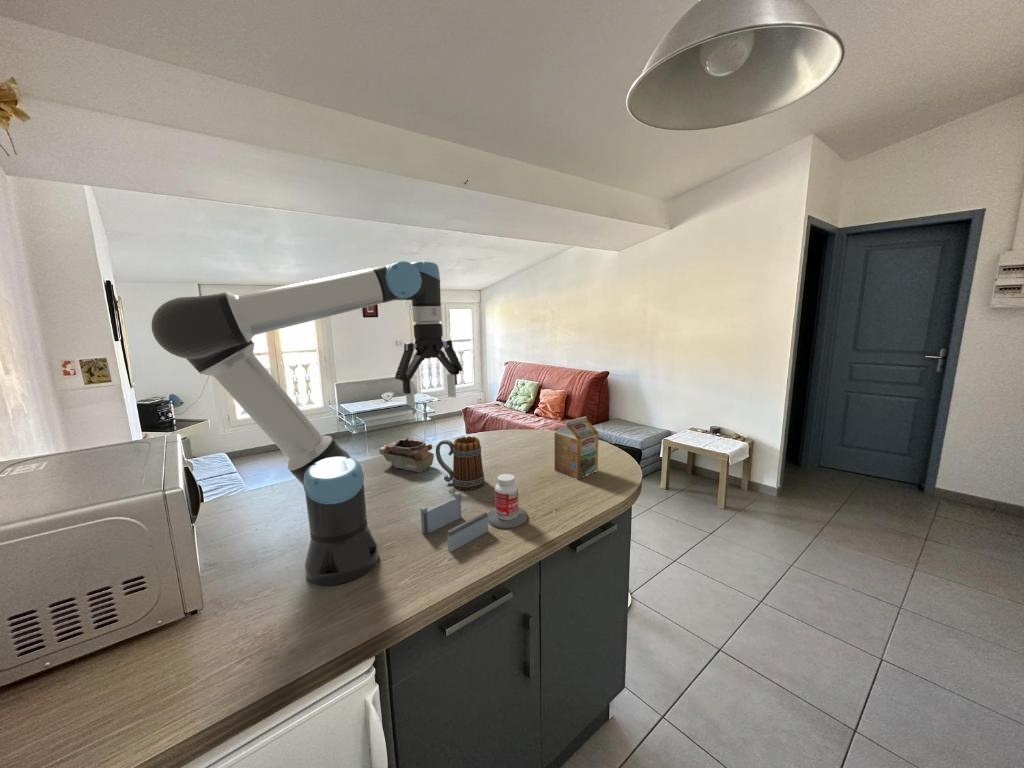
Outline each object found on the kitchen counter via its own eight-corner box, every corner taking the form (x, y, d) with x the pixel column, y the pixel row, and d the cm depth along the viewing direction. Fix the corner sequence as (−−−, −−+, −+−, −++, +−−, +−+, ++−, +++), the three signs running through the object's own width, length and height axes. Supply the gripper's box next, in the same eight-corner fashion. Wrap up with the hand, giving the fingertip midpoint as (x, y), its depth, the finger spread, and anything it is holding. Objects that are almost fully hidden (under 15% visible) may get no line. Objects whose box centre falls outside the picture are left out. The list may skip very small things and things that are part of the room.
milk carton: (577, 480, 131) (577, 425, 127) (554, 470, 139) (554, 418, 135) (597, 471, 137) (598, 419, 134) (574, 463, 145) (575, 413, 142)
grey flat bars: (451, 552, 92) (449, 524, 91) (422, 533, 101) (420, 508, 99) (488, 531, 101) (487, 505, 100) (458, 515, 109) (457, 492, 108)
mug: (486, 477, 134) (485, 435, 132) (481, 491, 124) (479, 445, 121) (442, 476, 136) (440, 434, 133) (433, 489, 126) (430, 445, 123)
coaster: (507, 533, 100) (507, 530, 100) (478, 518, 107) (478, 516, 107) (535, 516, 108) (535, 514, 107) (506, 504, 115) (506, 501, 115)
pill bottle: (511, 523, 103) (510, 483, 101) (491, 517, 106) (490, 479, 104) (522, 512, 108) (521, 474, 106) (503, 507, 111) (502, 470, 109)
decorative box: (410, 480, 133) (408, 453, 132) (371, 469, 144) (369, 443, 142) (436, 467, 144) (435, 442, 143) (399, 457, 155) (397, 434, 153)
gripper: (392, 324, 93) (399, 411, 97) (472, 321, 111) (475, 395, 115) (377, 324, 98) (383, 407, 102) (455, 321, 116) (459, 392, 120)
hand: (432, 401), depth 108 cm, fingers open, 13 cm apart
